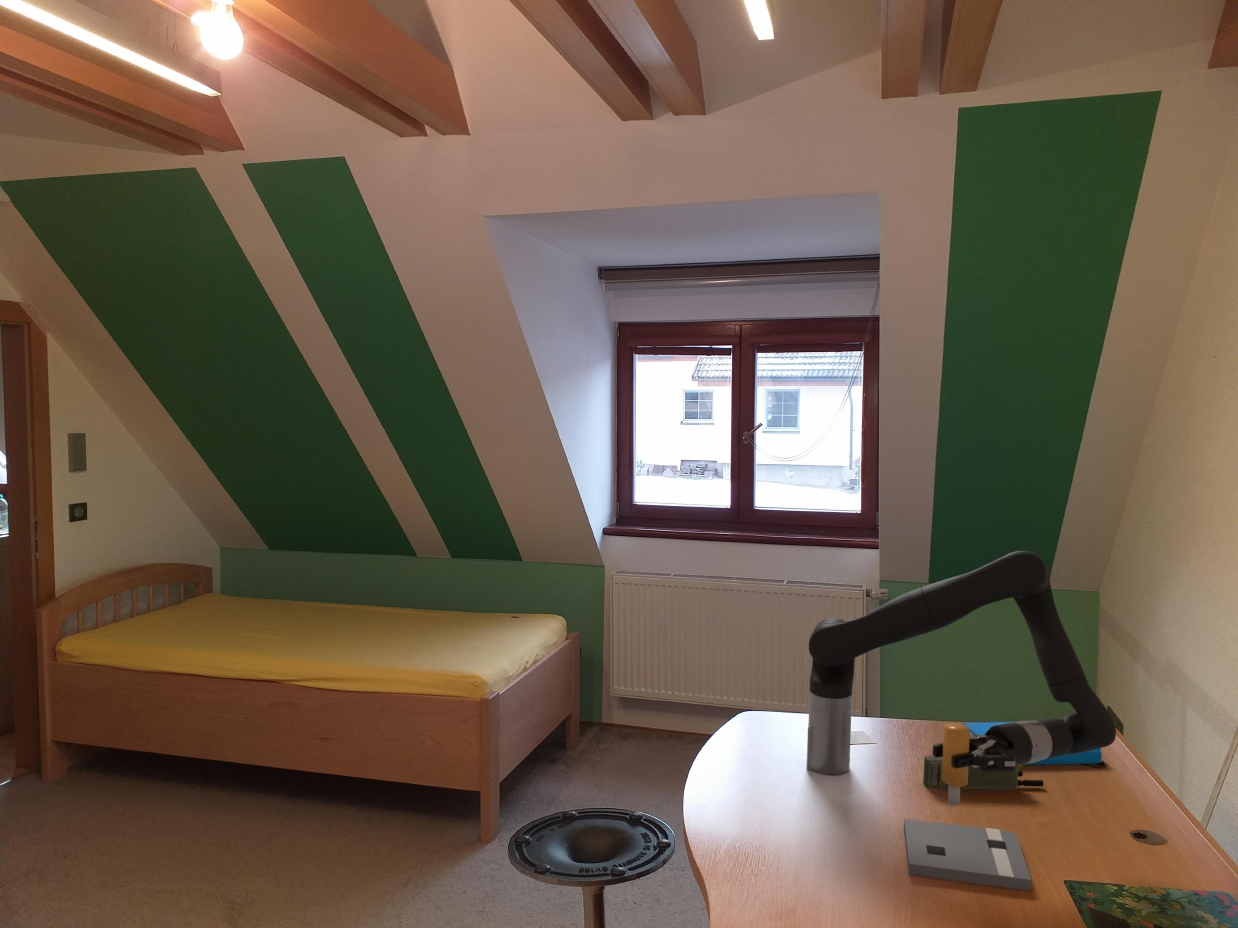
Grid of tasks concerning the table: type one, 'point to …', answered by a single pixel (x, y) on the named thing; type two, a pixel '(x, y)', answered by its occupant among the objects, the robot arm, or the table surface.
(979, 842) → the board
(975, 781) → the handheld radio
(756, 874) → the table surface
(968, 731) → the orange and grey cylinder
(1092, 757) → the book
